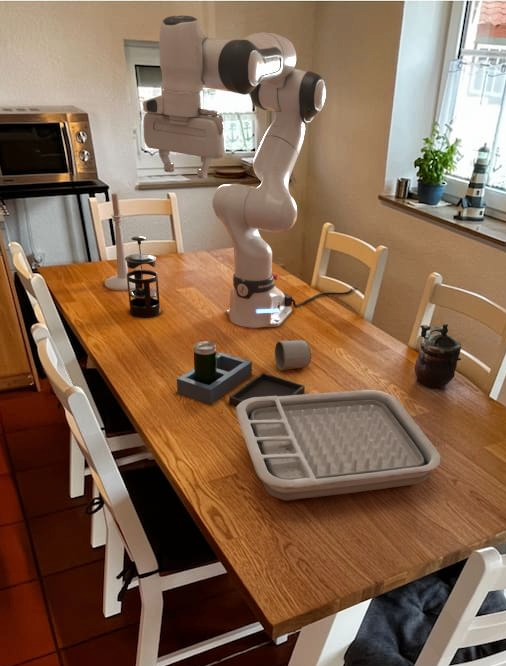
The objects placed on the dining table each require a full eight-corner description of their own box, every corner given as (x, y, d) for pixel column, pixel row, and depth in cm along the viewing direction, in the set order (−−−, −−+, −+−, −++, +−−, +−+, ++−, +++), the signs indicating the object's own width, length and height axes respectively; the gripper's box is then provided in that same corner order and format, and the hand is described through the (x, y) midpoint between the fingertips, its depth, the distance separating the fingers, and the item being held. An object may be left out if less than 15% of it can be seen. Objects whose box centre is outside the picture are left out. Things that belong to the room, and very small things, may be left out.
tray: (262, 379, 151) (262, 372, 150) (304, 393, 147) (304, 385, 146) (229, 404, 139) (229, 396, 138) (273, 419, 135) (273, 411, 134)
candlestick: (96, 283, 201) (84, 191, 185) (126, 275, 210) (117, 186, 194) (121, 293, 195) (111, 198, 179) (151, 284, 204) (144, 193, 188)
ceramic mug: (312, 371, 157) (314, 344, 153) (283, 375, 154) (284, 348, 150) (296, 354, 165) (297, 329, 161) (269, 358, 162) (270, 332, 158)
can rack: (220, 365, 156) (220, 351, 154) (251, 375, 153) (252, 361, 150) (177, 393, 142) (176, 378, 140) (210, 404, 139) (210, 389, 137)
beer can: (200, 397, 141) (199, 352, 135) (191, 388, 145) (189, 343, 138) (221, 393, 144) (220, 348, 137) (211, 383, 147) (210, 339, 141)
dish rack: (445, 497, 115) (453, 464, 111) (261, 523, 105) (262, 488, 101) (383, 414, 140) (388, 385, 136) (231, 429, 130) (230, 398, 126)
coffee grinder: (395, 385, 154) (405, 320, 144) (422, 367, 164) (433, 305, 154) (439, 402, 147) (453, 336, 138) (464, 382, 158) (478, 319, 148)
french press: (165, 316, 181) (160, 241, 169) (134, 320, 177) (127, 243, 164) (154, 303, 189) (148, 230, 177) (124, 306, 185) (117, 232, 173)
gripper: (231, 111, 126) (231, 180, 133) (156, 101, 133) (159, 167, 140) (214, 112, 121) (215, 183, 128) (136, 101, 128) (141, 170, 136)
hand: (185, 174), depth 134 cm, fingers open, 8 cm apart
